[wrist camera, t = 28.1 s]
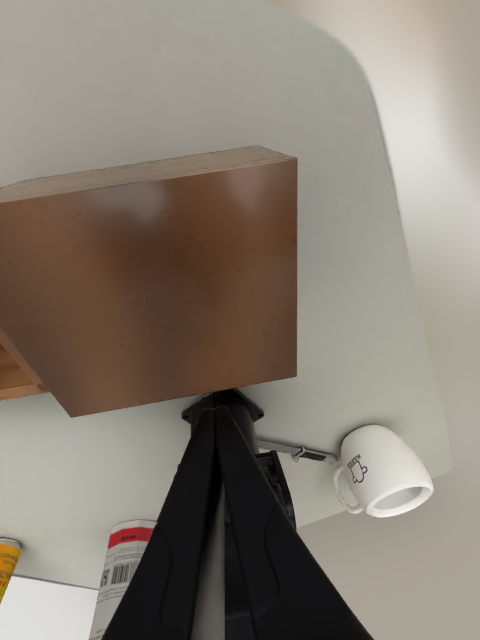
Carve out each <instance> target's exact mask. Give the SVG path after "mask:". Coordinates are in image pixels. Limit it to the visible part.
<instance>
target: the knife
mask: <svg viewBox="0 0 480 640" xmlns="http://www.w3.org/2000/svg"><path fill="white" fill-rule="evenodd" d="M257 445H258V447H259V448H264V449H269V450H276V451H279V452H285V453H290V454H292V455H293V460H294V461H295V462H298V460H299V459H298V457H305V458H309V459H313V460H318V461H326V462H329V463H330V464H333V463H335V462H337V461H338V459H337V456H334V455H331V454H326V453H322V452H318V451H313V450H309V449H305V448H304V447H300V448H295V447H290V446H285V445H280V444H275V443H270V442H265V441H259V440H257Z"/></svg>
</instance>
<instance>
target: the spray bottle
mask: <svg viewBox="0 0 480 640" xmlns="http://www.w3.org/2000/svg"><path fill="white" fill-rule="evenodd" d="M156 524H157V522H155V521H148V520H133V521H126V522H122V523H120V524H118V525H116V526H114V527H112V531H111V535H110V540H109V545H108V550H107V555H106V559H105V564H104V569H103V574H102V579H101V584H100V588H99V593H98V598H97V603H96V608H95V613H94V618H93V623H92V627H91V632H90V637H89V640H101V638H102V636H103V634H104V632H105V630H106V628H107V626H108V624H109V623H110V621H111V619H112V617H113V615H114V613H115V611H116V609H117V607H118V605H119V603H120V601H121V599H122V597H123V595H124V593H125V591H126V589H127V587H128V585H129V583H130V581H131V579H132V577H133V575H134V572H135V570H136V568H137V566H138V564H139V562H140V560H141V557H142V555H143V553H144V550H145V548H146V546H147V543H148V541H149V539H150V536H151V534H152V531H153V529H154V526H155V525H156Z"/></svg>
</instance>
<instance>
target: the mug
mask: <svg viewBox="0 0 480 640" xmlns="http://www.w3.org/2000/svg"><path fill="white" fill-rule="evenodd" d="M341 458H342V464H341V465H339V466H338V467H337V468H336V469H335V471H334V474H333V488H334V491H335V494H336V497H337V498H338V500H339V502H340V503H341V505H342V506H343V507H344V508H345V509H346V510H347V511H348V512H351V513H353V514H356V513H360V512H362V510H363V509H364V510H365V511H366V512H367V514H369V515H370V516H373V517H391V516H395V515H399V514H402V513H405V512H407V511H410V510H412V509H414V508H416V507H417V506H419V505H421V504H422V503H423V502H424V501H426V500H427V499H428V498H429V497H430V495H431V494H432V492H433V489H434V488H433V484H432V480H431V477H430V476H429V474H428V472H427V470H426V468H425V467H424V465H423V464H422V462H421V461H420V459H419V458H418V457H417V455H416V454H415V453H414V451H413V450H412V449H411V448H410V447H409V445H408V444H407V443H406V442H405V441H404V440H402V439H401V438H400V437H399V436H398V435H397V434H395V433H394V432H393V431H391V430H390V429H388V428H386V427H383V426H380V425H367V426H363V427H360V428H358V429H356V430H354V431H353V432H351V433H350V434H349V435H348V436H347V437H346V438H345V439H344V441H343V443H342V447H341ZM342 470H344V472H345V475H346V478H347V481H348V483H349V486H350V488H351V490H352V492H353V494H354V496H355V498H356V499H357V501H358V503H359V504H358V505H357V506H356V507H352V506H350V505H349V504H348V503H347V502H346V501H345V500H344V498H343V496H342V495H341V492H340V489H339V485H338V477H339V474H340V473H341V471H342Z"/></svg>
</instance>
